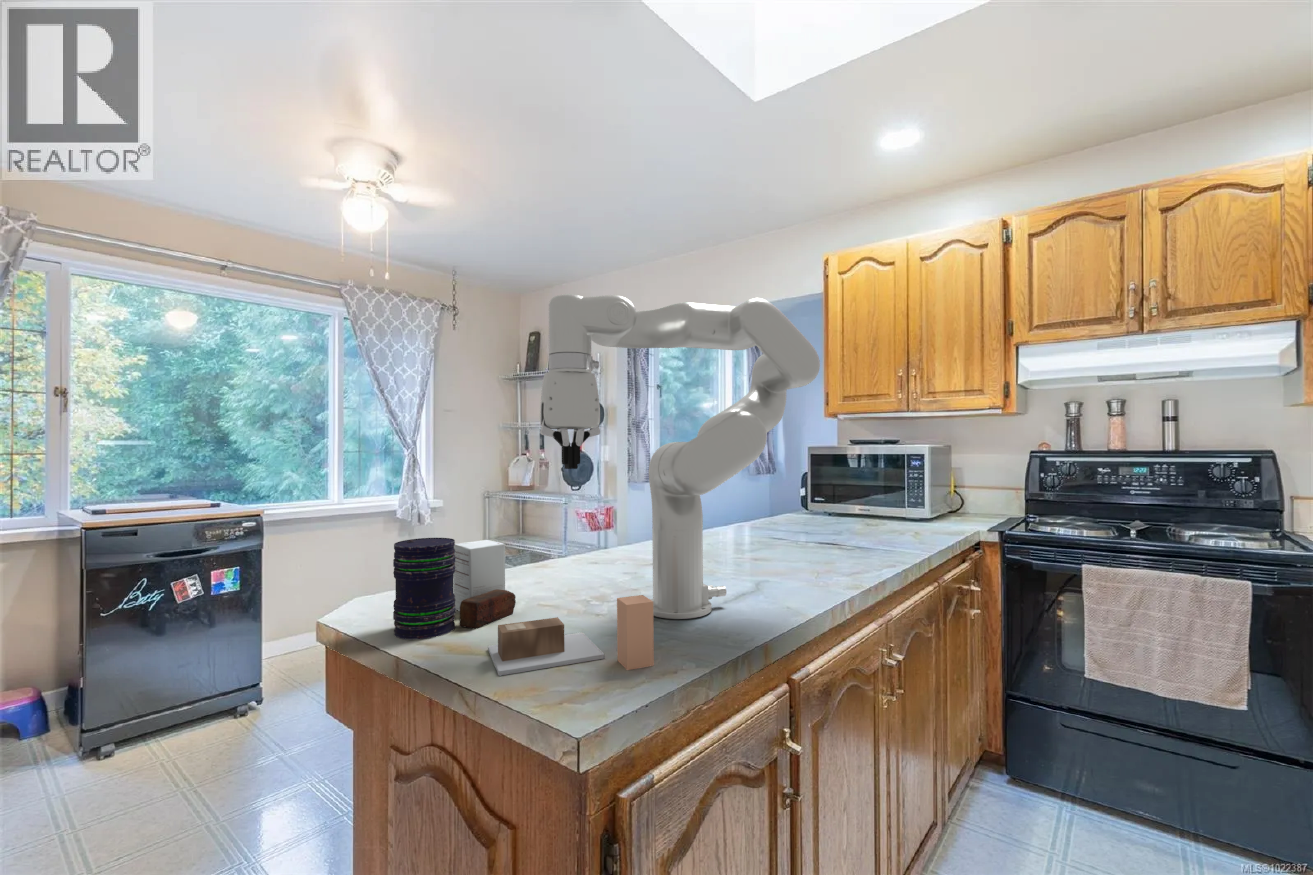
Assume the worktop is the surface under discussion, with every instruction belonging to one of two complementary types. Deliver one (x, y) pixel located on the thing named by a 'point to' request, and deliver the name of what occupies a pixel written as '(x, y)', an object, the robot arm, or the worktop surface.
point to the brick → (486, 608)
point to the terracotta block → (635, 632)
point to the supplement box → (478, 569)
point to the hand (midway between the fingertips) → (570, 468)
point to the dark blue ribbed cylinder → (424, 588)
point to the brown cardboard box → (530, 638)
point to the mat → (550, 656)
